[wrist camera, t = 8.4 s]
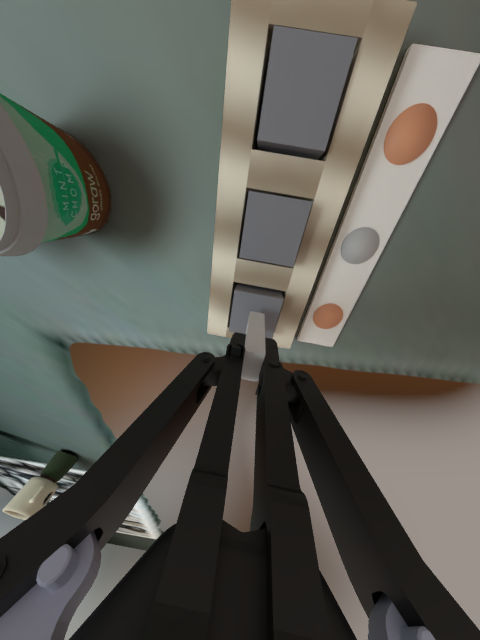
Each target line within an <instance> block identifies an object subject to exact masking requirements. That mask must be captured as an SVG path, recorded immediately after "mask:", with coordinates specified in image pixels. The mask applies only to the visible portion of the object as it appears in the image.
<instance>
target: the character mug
mask: <svg viewBox="0 0 480 640" xmlns="http://www.w3.org/2000/svg"><path fill="white" fill-rule="evenodd" d="M71 454H72V453H69V454H67V453H65V452H62V451H58V452H57V453H56V454H55V455H54V457H53V458H52V459H51V460H50V462H49V463H48V464H47V466H46V467H45V468H44V470H43V471H42V473H41V476H40V477H32V478H31V479H30V480H29V481H28V482H27V483H26V485H25V486H24V487H23V488H22V489H21V490H20V491H19V492H18V493H17V494H16V496H15V497H14V498H13V499H12V500H11V501H10V502H9V503H8V504H7V505H6V507H5V508H4V509H3V512H5V513H6V514H9V515H11V516H13V517H16V518H20V519H24V520H27V519H28V518H29V517H31V516H32V515H33V514H35V513H36V512H37V511H39V510H40V509H42V508H43V507H44V506H45V504H46V503H47V502H48V501H49V499H50V498H51V497H52V495H53V494H54V493H55V492H56V490H57V488H58V486H57V485H56V483H57V481H59V480H60V479H61V478H62V477H63V476H64V475H65V474H66V473H67V472H68V471H69V470H70V469H71V468H72V467H73V465H74V464H75V463H76V462H77V461H78V458H77V457H76V456H73V455H71Z"/></svg>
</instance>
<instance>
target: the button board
mask: <svg viewBox="0 0 480 640" xmlns="http://www.w3.org/2000/svg"><path fill="white" fill-rule="evenodd" d="M417 3H418V2H413V1H407V0H232V1H231V15H230V29H229V42H228V56H227V69H226V83H225V97H224V110H223V124H222V137H221V151H220V165H219V178H218V192H217V205H216V219H215V233H214V246H213V260H212V273H211V287H210V301H209V314H208V328H207V333H208V334H213V335H218V336H224V337H229V338H232V335H233V334H234V332H229V325H230V318H231V311H232V304H233V297H234V290H235V283H236V282H238V283H243V284H249V285H254V286H259V287H265V288H270V289H276V290H281V291H282V295H283V298H284V300H283V303H282V307H281V310H280V313H279V317H278V320H277V324H276V327H275V330H274V334H273V337H272V339H274V340H275V341H276V342H277V347H281V348H287V349H290V347H291V344H292V341H293V338H294V336H295V333H296V330H297V328H298V325H299V322H300V320H301V317H302V314H303V311H304V309H305V306H306V303H307V301H308V298H309V295H310V292H311V290H312V287H313V284H314V282H315V279H316V276H317V273H318V271H319V268H320V265H321V263H322V260H323V257H324V255H325V252H326V249H327V246H328V244H329V241H330V238H331V236H332V233H333V230H334V227H335V225H336V222H337V219H338V217H339V214H340V211H341V209H342V206H343V203H344V200H345V198H346V195H347V192H348V190H349V187H350V184H351V181H352V179H353V176H354V173H355V171H356V168H357V165H358V162H359V160H360V157H361V154H362V152H363V149H364V146H365V144H366V141H367V138H368V135H369V133H370V130H371V127H372V125H373V122H374V119H375V116H376V114H377V111H378V108H379V106H380V103H381V100H382V97H383V95H384V92H385V89H386V87H387V84H388V81H389V79H390V76H391V73H392V70H393V68H394V65H395V62H396V60H397V57H398V54H399V51H400V49H401V46H402V43H403V41H404V38H405V35H406V33H407V30H408V27H409V24H410V22H411V19H412V16H413V14H414V11H415V8H416V5H417ZM274 25H275V26H282V27H288V28H295V29H301V30H308V31H315V32H321V33H328V34H335V35H341V36H348V37H355V38H358V40H357V43H356V46H355V50H354V53H353V57H352V60H351V64H350V67H349V71H348V74H347V77H346V81H345V84H344V88H343V91H342V95H341V98H340V101H339V105H338V108H337V112H336V115H335V119H334V122H333V126H332V129H331V132H330V136H329V139H328V143H327V146H326V150H325V152H324V153H323V154H322V155H321V156H320V158H319V160H313V159H307V158H301V157H295V156H289V155H283V154H277V153H271V152H265V151H259V150H255V144H256V138H257V131H258V124H259V117H260V110H261V103H262V96H263V89H264V82H265V75H266V68H267V62H269V56H270V49H271V42H272V36H273V29H274ZM249 191H253V192H259V193H265V194H271V195H276V196H282V197H288V198H294V199H300V200H306V201H311V202H312V206H311V209H310V212H309V216H308V219H307V222H306V226H305V229H304V232H303V236H302V239H301V243H300V246H299V249H298V253H297V256H296V259H295V263H294V266H293V267H290V266H284V265H279V264H273V263H268V262H262V261H257V260H251V259H246V258H240V257H239V255H240V248H241V241H242V235H243V228H244V221H245V214H246V207H247V200H248V193H249Z"/></svg>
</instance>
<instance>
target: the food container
mask: <svg viewBox="0 0 480 640" xmlns="http://www.w3.org/2000/svg"><path fill="white" fill-rule="evenodd" d="M110 212H111V195H110V189H109V186H108V182H107V180H106V177H105V175H104V173H103V171H102V169H101V167H100V165H99V164H98V162H97V161H96V159H95V158H94V157H93V155H92V154H91V153H90V152H89V151H88V149H87V148H86V147H84V146H83V145H82V144H81V143H80V142H79V141H78V140H76V139H75V138H74V137H72V136H71V135H69V134H67V133H65V132H64V131H62V130H60V129H59V128H57V127H55V126H54V125H52V124H50V123H49V122H47V121H45V120H44V119H42V118H40V117H39V116H37V115H35V114H34V113H32V112H30V111H29V110H27V109H25V108H24V107H22V106H20V105H19V104H17V103H15V102H14V101H12V100H10V99H9V98H7V97H5V96H4V95H2V94H0V256H20V255H25V254H27V253H29V252H31V251H33V250H34V249H35V248H36V247H38V246H39V244H40V243H42V242H48V241H53V240H59V239H64V238H70V237H75V236H81V235H86V234H91V233H94V232H96V231H99V230H101V229H102V227H103V226H104V225H105V224H106V223H107V222H108V219H109V215H110Z"/></svg>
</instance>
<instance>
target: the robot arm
mask: <svg viewBox="0 0 480 640" xmlns="http://www.w3.org/2000/svg"><path fill="white" fill-rule="evenodd" d="M241 379H245V380H250V381H256V382H258V379H259V383H258V387H257V390H256V395H257V411H256V440H255V467H254V495H253V510H252V516H251V524H250V532H240V531H239V530H237V529H236V528H234V527H232V526H231V525H230V524H228V523H227V522H225V521H224V520H222V519H223V512H224V505H225V497H226V490H227V481H228V468H229V461H230V454H231V446H232V439H233V432H234V425H235V417H236V411H237V403H238V396H239V389H240V380H241ZM212 386H217V388H216V392H215V396H214V399H213V403H212V406H211V410H210V413H209V417H208V420H207V424H206V428H205V431H204V435H203V438H202V442H201V445H200V449H199V453H198V456H197V459H196V463H195V466H194V469H193V470H192V473H191V475H190V479H189V482H188V485H187V489H186V493H185V496H184V499H183V503H182V506H181V510H180V513H179V517H178V520H177V523H176V524H174V525H173V526H171V527H170V528H169V529H167V530H166V531H165V532H164V533H163V534H162V535H160V536H159V538H158V539H157V540H156V541H155V542H154V543H153V544H152V545H151V546H150V548H149V549H148V550H147V551H146V552H145V553H144V554H143V556H142V557H141V558H140V559H139V560H138V561H137V562H136V564H135V565H134V566H133V567H132V568H131V569H130V571H129V572H128V573H127V574H126V575H125V576H124V577H123V578H122V580H121V581H120V582H119V583H118V584H117V585H116V586H115V588H114V589H113V590H112V591H111V592H110V593H109V594H108V596H107V597H106V598H105V599H104V600H103V601H102V602H101V604H100V605H99V606H98V607H97V608H96V609H95V610H94V612H93V613H92V614H91V615H90V616H89V617H88V618H87V620H86V621H85V622H84V623H83V624H82V625H81V626H80V628H79V629H78V630H77V631H76V632H75V633H74V634H73V635H72V637H71V638H70V639H69V640H357V639H356V637H355V635H354V633H353V631H352V629H351V628H350V626H349V624H348V622H347V620H346V618H345V616H344V615H343V613H342V611H341V609H340V607H339V606H338V603H337V601H336V600H335V598H334V596H333V594H332V592H331V590H330V588H329V586H328V585H327V583H326V581H325V579H324V577H323V576H322V574H321V572H320V570H319V567H318V560H317V554H316V548H315V542H314V536H313V530H312V525H311V518H310V512H309V507H308V502H307V499H306V496H305V495H304V493H303V492H302V491H301V489H300V485H299V479H298V471H297V464H296V457H295V451H294V443H293V436H292V429H291V424H292V427H293V430H294V432H295V435H296V438H297V441H298V443H299V446H300V449H301V451H302V454H303V456H304V459H305V462H306V464H307V468H308V470H309V473H310V476H311V478H312V481H313V484H314V486H315V489H316V491H317V494H318V497H319V500H320V502H321V505H322V508H323V511H324V513H325V516H326V519H327V521H328V524H329V527H330V529H331V532H332V535H333V537H334V540H335V543H336V545H337V548H338V551H339V554H340V556H341V559H342V561H343V564H344V566H345V569H346V571H347V574H348V576H349V578H350V581H351V583H352V585H353V587H354V589H355V592H356V594H357V596H358V598H359V600H360V602H361V605H362V607H363V608H364V610H365V612H366V614H367V616H368V618H369V626H368V627H369V634H368V640H480V631H479V629H478V628H477V627H476V625H475V624H474V623H473V622H472V621H471V619H470V618H469V617H468V616H467V614H466V613H465V612H464V611H463V609H462V608H461V607H460V606H459V604H458V603H457V602H456V601H455V600H454V598H453V597H452V596H451V595H450V593H449V592H448V591H447V590H446V588H445V587H444V586H443V585H442V584H441V582H440V581H439V580H438V579H437V577H436V576H435V575H434V574H433V573H432V571H431V570H430V569H429V567H428V566H427V565H426V564H425V563H424V561H423V560H422V558H421V557H420V555H419V553H418V552H417V550H416V548H415V547H414V545H413V543H412V542H411V540H410V538H409V537H408V535H407V533H406V532H405V530H404V528H403V527H402V526H401V524H400V522H399V520H398V519H397V517H396V516H395V514H394V512H393V510H392V509H391V507H390V506H389V504H388V503H387V501H386V499H385V497H384V496H383V494H382V492H381V491H380V489H379V487H378V486H377V484H376V482H375V481H374V479H373V478H372V476H371V474H370V473H369V472H368V469H367V468H366V466H365V464H364V463H363V461H362V460H361V458H360V456H359V455H358V453H357V451H356V450H355V448H354V446H353V445H352V443H351V441H350V440H349V438H348V437H347V435H346V433H345V432H344V430H343V428H342V427H341V425H340V423H339V422H338V420H337V418H336V417H335V415H334V414H333V412H332V410H331V409H330V407H329V405H328V404H327V402H326V400H325V399H324V397H323V395H322V394H321V392H320V391H319V389H318V387H317V386H316V384H315V382H314V381H313V379H312V377H311V376H310V375H309V374H308V373H306V372H304V371H302V370H296V371H294V373H292V372H290V371H287V370H286V369H284V368H283V366H282V364H281V363H280V362H279V355H278V348H277V342H276V341H275V340H274V339H271V338H265V314H263V313H258V312H253V311H250V314H249V319H248V324H247V329H246V334H243V333H237V332H235V333H234V334H233V335H232V338H231V341H230V344H228V346H227V351H226V355H225V356H222V357H214V355H213V354H211V353H208V352H203V353H200V354H198V355H197V356H196V357H195V358H194V359H193V360H192V361H191V362H190V363H189V364H188V365H187V366H186V367H185V369H184V370H183V371H182V372H181V373H180V374H179V375H178V376H177V377H176V378H175V379H174V380H173V381H172V382H171V383H170V384H169V385H168V386H167V388H166V389H165V390H164V391H163V392H162V393H161V394H160V395H159V396H158V397H157V398H156V399H155V400H154V401H153V402H152V403H151V404H150V406H149V407H148V408H147V409H146V410H145V411H144V412H143V413H142V414H141V415H140V416H139V417H138V418H137V419H136V420H135V421H134V422H133V423H132V424H131V426H130V427H129V428H128V429H127V430H126V431H125V432H124V433H123V434H122V435H121V436H120V437H119V438H118V439H117V440H116V441H115V442H114V443H113V445H112V446H111V447H110V448H109V449H108V450H107V451H106V452H105V453H104V454H103V455H102V456H101V457H100V458H99V459H98V460H97V461H96V462H95V464H94V465H93V466H92V467H91V468H90V469H89V470H88V471H87V472H86V473H85V474H84V475H83V476H82V477H81V478H80V479H79V480H78V481H77V483H76V484H75V485H73V486H72V487H70V488H69V489H68V490H66V491H65V492H64V493H62V494H61V495H59V496H58V497H57V498H55V499H54V500H53V501H51V502H50V503H48V504H47V505H46V506H44V507H43V508H42V509H40V510H39V511H37V512H36V513H35V514H33V515H32V516H31V517H29V518H28V519H27V520H25V521H24V522H23V523H21V524H20V525H18V526H17V527H16V528H14V529H13V530H11V531H10V532H9V533H8V534H6V535H5V536H3V537H2V538H0V640H64V637H65V634H66V632H67V629H68V626H69V623H70V621H71V619H72V617H73V615H74V613H75V611H76V609H77V607H78V606H79V604H80V603H81V601H82V600H83V598H84V597H85V596H86V594H87V593H88V591H89V589H90V588H91V587H92V584H93V583H94V580H95V579H96V577H97V574H98V571H99V568H100V563H101V551H100V550H101V549H102V548H103V547H104V546H105V545H106V543H107V542H108V541H109V540H110V538H111V537H112V536H113V535H114V534H115V532H116V531H117V530H118V529H119V527H120V526H121V524H122V523H123V522H124V520H125V519H126V517H127V516H128V514H129V513H130V512H131V510H132V509H133V507H134V505H135V504H136V502H137V501H138V499H139V498H140V496H141V495H142V493H143V492H144V490H145V488H146V487H147V485H148V484H149V482H150V481H151V479H152V478H153V476H154V475H155V473H156V472H157V470H158V468H159V467H160V465H161V464H162V462H163V461H164V459H165V458H166V456H167V455H168V453H169V452H170V450H171V449H172V447H173V446H174V444H175V443H176V441H177V439H178V438H179V436H180V435H181V433H182V432H183V430H184V428H185V427H186V426H187V424H188V423H189V421H190V419H191V418H192V416H193V415H194V413H195V412H196V410H197V409H198V407H199V406H200V404H201V403H202V401H203V400H204V398H205V396H206V395H207V393H208V392H209V390H210V389H211V387H212Z"/></svg>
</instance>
